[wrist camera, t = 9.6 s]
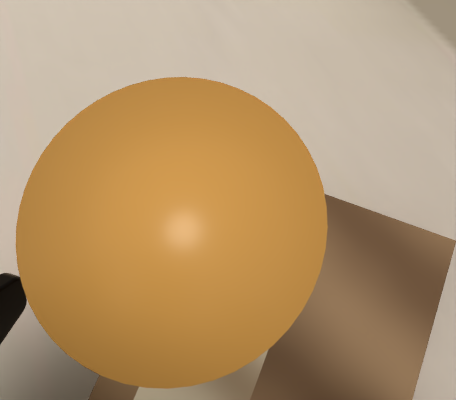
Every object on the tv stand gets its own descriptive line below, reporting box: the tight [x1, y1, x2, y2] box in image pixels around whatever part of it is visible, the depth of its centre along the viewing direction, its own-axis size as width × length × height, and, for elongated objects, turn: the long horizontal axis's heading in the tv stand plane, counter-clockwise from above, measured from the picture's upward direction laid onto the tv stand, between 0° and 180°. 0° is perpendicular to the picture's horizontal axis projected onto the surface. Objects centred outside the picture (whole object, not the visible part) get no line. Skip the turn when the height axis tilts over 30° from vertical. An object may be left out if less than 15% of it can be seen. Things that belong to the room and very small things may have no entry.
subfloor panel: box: [88, 193, 456, 400], centre depth 16 cm, size 16×12×1 cm
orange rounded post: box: [16, 77, 328, 389], centre depth 10 cm, size 4×4×13 cm
